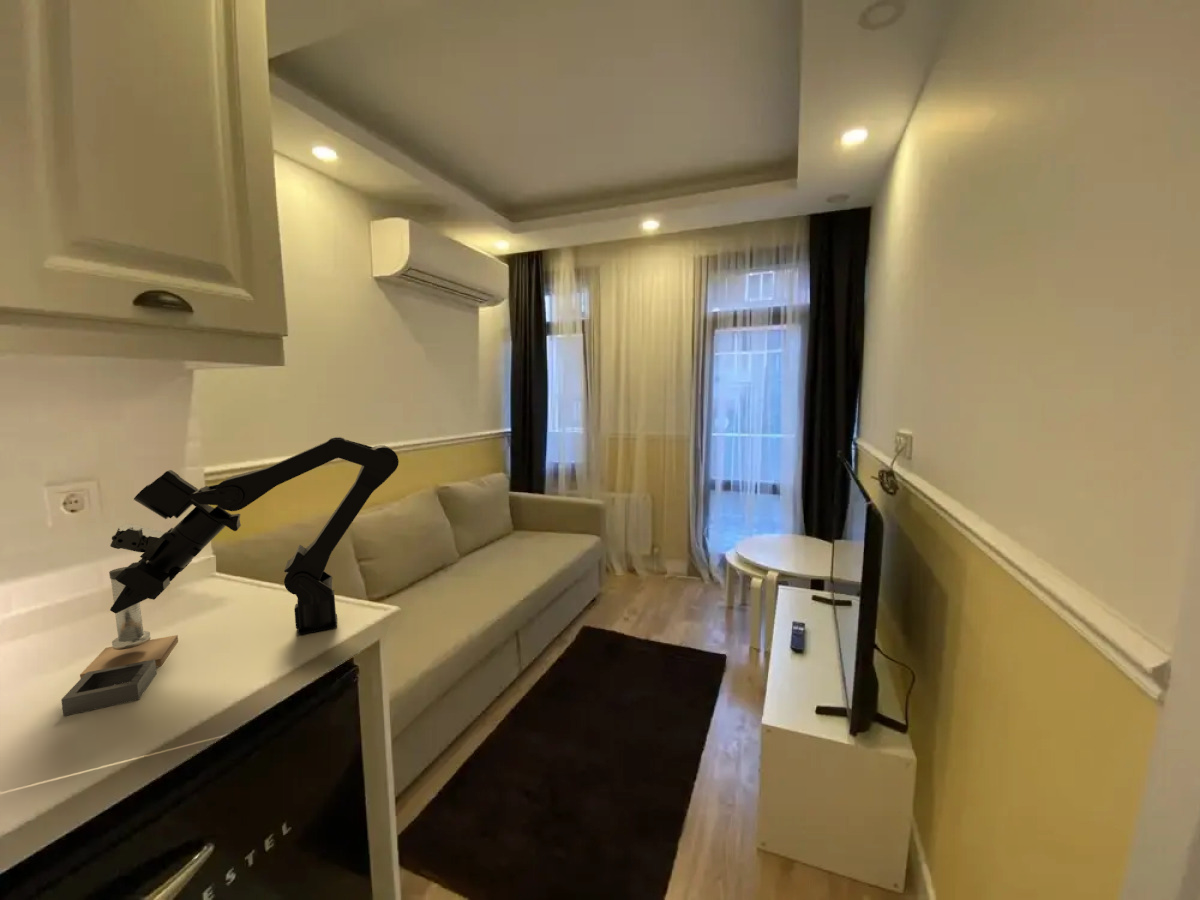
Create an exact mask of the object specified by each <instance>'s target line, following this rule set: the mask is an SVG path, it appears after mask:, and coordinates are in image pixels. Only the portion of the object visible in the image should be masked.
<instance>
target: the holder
mask: <svg viewBox="0 0 1200 900" xmlns="http://www.w3.org/2000/svg"><path fill="white" fill-rule="evenodd" d="M156 675H157V667H156V664H155V659H153V660H148V661H143V662H138V663H132V664H127V665H122V666H117V667H112V668H106V669H101V670H96V671H91V672H87V673H86V674H85V675H84V676H83V677H82V678H80V679H79V680H78V681H77V682H76V683H75V684H74V685H73V687H71V688H70V689H69V690H68V692H67V693H65V695H64V696H63V697H62V698H61V700H60V701H61V708H62V714H63V717H66V716H69V715H74V714H79V713H84V712H89V711H94V710H98V709H102V708H107V707H111V706H116V705H122V704H126V703H130V702H135V701H140V699H141V697H142V696H143V694H144V693H145V691H146V690H147V688H148V687H149V685H150V684H151V683H152V681H153V679H154V678H155V677H156Z"/></svg>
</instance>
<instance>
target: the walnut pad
mask: <svg viewBox="0 0 1200 900" xmlns="http://www.w3.org/2000/svg"><path fill="white" fill-rule="evenodd" d="M178 642H179V636H178V634H175V635H171V636H170V635H169V636H165V637H159V638H153V639H152V638H151V639H150V640H149V641H148V642H146V643H144V644H142V645H140V646H137V647H133V648H129V649H124V650H114V649H113V646H108V647H105V648H104V649H103V650H102V651H101V652H100V653H99V654H98V655H97V656H96V657H95V658H94V660H92V661H91V662H90V664H89V665H87V666H86V668H84V670H83V671H82V672H81V673H80V674H79V677H80V679H81V678H82V677H83V676H84V675H85V674H86V673H87V672H91V671H96V670H101V669H106V668H112V667H117V666H122V665H127V664H132V663H138V662H143V661H148V660H153V659H155V664H156V668H158V667H162V666H163V664H164V663H165V661H167V658H168V657H169V655H170V653H171V652H172V651H173V649H175V647H176V645H177V644H178Z"/></svg>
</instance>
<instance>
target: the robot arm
mask: <svg viewBox="0 0 1200 900" xmlns="http://www.w3.org/2000/svg"><path fill="white" fill-rule="evenodd" d="M336 459H339V460H344V461H347V462H350V463H354V464H357V465H359V466H360V469H359V471H358V474H357V476H356V478H355V482H354V483H353V484H352V485H351V487H350V488H349V490H348V491H347V493H346V495H345V496H344V497H343V499H342V500H341V502H340V503H339V504H338V505H337V507H336V508H335V510H334V511H333V513H332V515H330V517H329V519H328V521H327V522H326V523H325V524H324V526H323V528H322V529H321V530H320V532H319V533H318V535H317V536H316V537H315V539H314V540H313V541H312V542H311V543H310V544H309V545H308V546H307V547H305V546H303V545H302V544H299V545H298V547H297V549H296V551H295V553H294V555H293V556H292V557H291V558H290V559H289V560H287V562H286V566H285V568H284V573H285V576H284V579H283V584H284V587H285V589H286V590H287V592H289V593H290V594H293V595H295V596H296V598H297V600H296V602H297V603H296V604H295V605H294V623H295V629H296V630H298V632H297V634H298V635H306V634H311V633H312V634H313V633H316V632H317V633H318V632H322V631H327V630H331V629H332V630H333V629H336V628H338V615H337V611H336V610H337V608H336V597H335V595H336V594H335V589H333V575H331V574H329V573H328V572H326V571H325V569H326V567H327V564H328V562H329V559H330V558H331V557H330V556H331V555H332V553H333V551H334V550H335V548H336V546H337V545H338V544H339V542H340V540H341V539H343V536H344V535H345V533H346V532H347V530H348V529H349V527H350V526H351V524H352V523H353V521H355V519H356V517H357V515H358V514H359V513H360V512H361V510H362V508H363V506H364V505H365V503H367V501H368V500H369V498H370V497H371V495H372V494H373V493H374V491H376V490H377V489H378V488H379V487H380V486H381V485H382V484H384V483H385V482H386V480H388V479H389V478H390V477H391V475H393V474H394V473H395V472H396V471H397V469H398V466H399V462H400V461H399V457H398V455H397V453H396V451H394V450H393V449H392V448H391V447H389V446H387V445H383V444H380V445H375V446H370V445H367V444H364V443H359V442H355V441H352V440H348V439H345V438H344V437H342V436H333V437H330V438H329V439H328V440H327V441H324V442H323V443H320V444H318V445H315V446H313V447H311V448H308V449H306V450H304V451H302V452H299V453H298V454H295V455H292V456H291V457H288V458H286V459H283V460H280V461H279V462H277V463H274V464H273V465H270V466H267V467H263V468H260V469H254V470H251V471H247V472H242V473H240V474H236V475H232V476H229V477H228V478H225V479H224V480H223V481H221V482H220V483H218V484H213V485H205V486H203V487H201V488H197V487H195V486H194V485H192V484H191V483H189V482H188V481H187V480H185V478H184V479H183V478H182V477H181V476H180V475H179V474H178V473H177V472H175V471H174V470H172V469H169V470H165V472H164V473H163V474H162V475H160V476H159V477H158V478H156V479H155V480H153V481H152V482H151V483H149V484H147V485H146V486H145V487H144V488H142V489H141V490H140V491H139V492H138V493H137V494H136V495H135V496H134V498H133V501H136V502H137V503H139V504H140V505H141V506H143V507H145V508H147V509H148V510H149V511H151V512H153V513H155V514H157V515H158V516H159V517H161V518H163V519H164V520H167V519H168V518H169V519H172V518H175V519H178V518H179V517H181V516H182V515H183V514H184V513H185V512H186V511H188V510H189V509H190V508H191V507H192V506H194V508H193V509H192V510H191V511H190V512H189V513H188V514H186V516H184V518H182V519H181V520H180V521H179V522H178V523H177V524H176V525H175V526H174V527H171V528H170V529H169V530H167V531H166V532H164V531H161V530H157V529H154V528H150V527H145V526H142V525H138V524H133V523H125V524H123V525H121V526H119V527H118V528H117V530H116V532H115V534H114V535H112V536H111V543H110V547H111V548H113V549H117V550H119V549H123V550H127V551H131V552H136V553H142V554H141V555H140V556H139V557H140V559H139V560H138V561H137V562H132V563H130V564H129V565H127V566H126V567H127V568H125V569H124V570H123V571H122V572H121V573H120V574H119V575H118V576H117V577H116V578H115V579H116V580H117V581H118V582H120V583H122V584H123V585H125V587H124V589H123V591H122V592H121V594H120V595H119V597H118V598H117V600H116V601H115V603H114V602H113V604H112V605H111V607H110V609H109V611H111V612H112V613H113V614H115V613H118V612H120V611H122V610H124V609H126V608H128V607H131V606H133V605H135V604H137V603H139V602H140V603H141V602H143V601H146V600H147V599H149V600H154V601H155V600H156V599H157V598H158V597H159V596H160V595H161V594H162V593H163V592H164V591H165V590H166V589H167V588H168V587H169V585H171V582H172V581H173V580H174V579H175V578H176V576H177V575H178V574H180V572H181V573H182V571H183V570H185V568H186V567H187V566H188V565H189V564H190V563H191V562H192V561H193V559H195V557H197V556H198V554H200V552H202V550H203V549H204V548H206V547H207V545H208V544H210V542H212V540H213V539H215V538H216V536H217V535H219V534H220V533H221V531H222V530H223V529H225V528H226V527H227V528H228V529H229V530H232V531H233V532H237V531H238V530H239V528H241V527H242V524H241V521H240V518H241V513H235V514H233V513H230V512H237V511H240V510H243V509H244V508H246V507H247V506H249V505H250V504H252V503H253V502H255V501H257V500H258V499H259V498H261V497H262V496H264V495H266V494H267V493H268V492H269V491H271V490H273V489H274V488H275V487H277V486H280V485H282V484H283V483H285V482H287V481H291V480H292V479H294V478H296V477H299V476H301V475H303V474H306V473H308V472H309V471H312V470H314V469H316V468H318V467H321V466H323V465H325V464H327V463H330V462H332V461H333V460H336ZM213 506H215V507H213Z"/></svg>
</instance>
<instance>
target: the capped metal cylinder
mask: <svg viewBox="0 0 1200 900" xmlns="http://www.w3.org/2000/svg"><path fill="white" fill-rule="evenodd" d="M127 567H128V566H122V567H118V568H115V569H112V570H110V571H109V572H108V573H109V579H110V581H111V582H110V583H111V591H112V597H113V598H112V600H113V604H114V603H115V601H116V600H117V598H118V597H119V595H120V594H121V592H122V591H123V589H124V587H125V585H123V584H122V583H120V582H118V581H117V580H116V579H115V578H116V577H117V576H118V575H119V574H120V573H121V572H122V571H123V570H124V569H125V568H127ZM141 607H142V606H141V602H139V603H137V604H135V605H133V606H131V607H128V608H126V609H124V610H122V611H120V612H118V613H114V615H115V624H116V630H117V637H116V638H114V639H112V642H111V644H112V645H111V647H113V649H114V650H124V649H129V648H133V647H137V646H140V645H142V644H144V643H146V642H148V641H149V640H152V638H151V632H150V631H147V630H144V626H143V615H142V608H141Z"/></svg>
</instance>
